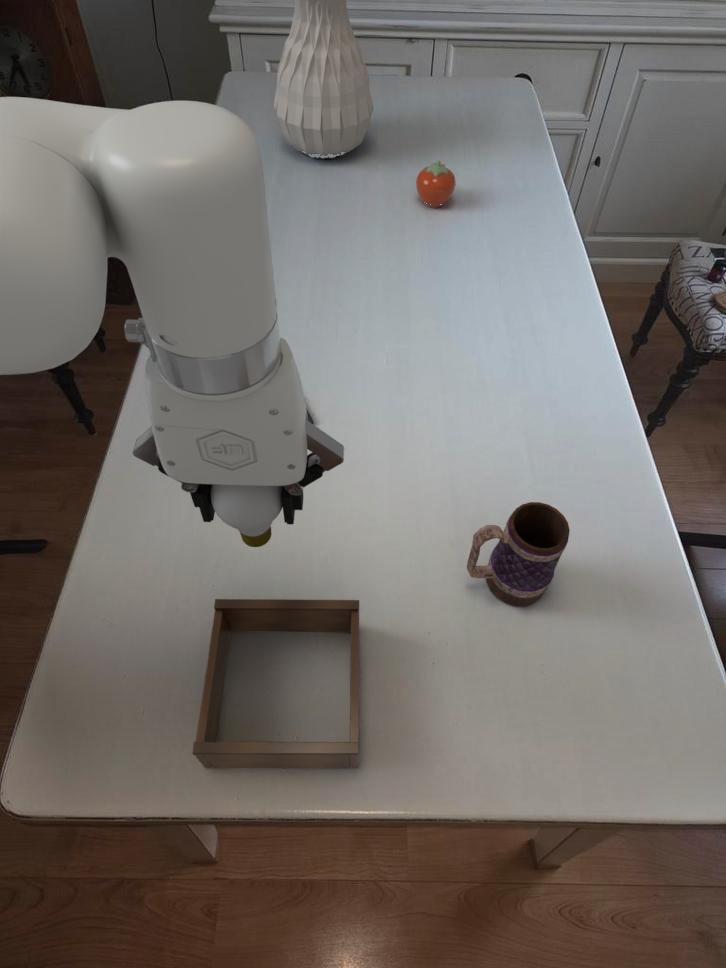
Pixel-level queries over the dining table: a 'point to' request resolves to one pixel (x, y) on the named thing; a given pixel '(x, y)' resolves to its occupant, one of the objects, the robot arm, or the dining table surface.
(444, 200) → the tomato
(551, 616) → the dining table surface
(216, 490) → the light bulb
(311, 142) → the vase
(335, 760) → the brown wooden square frame
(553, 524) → the mug
